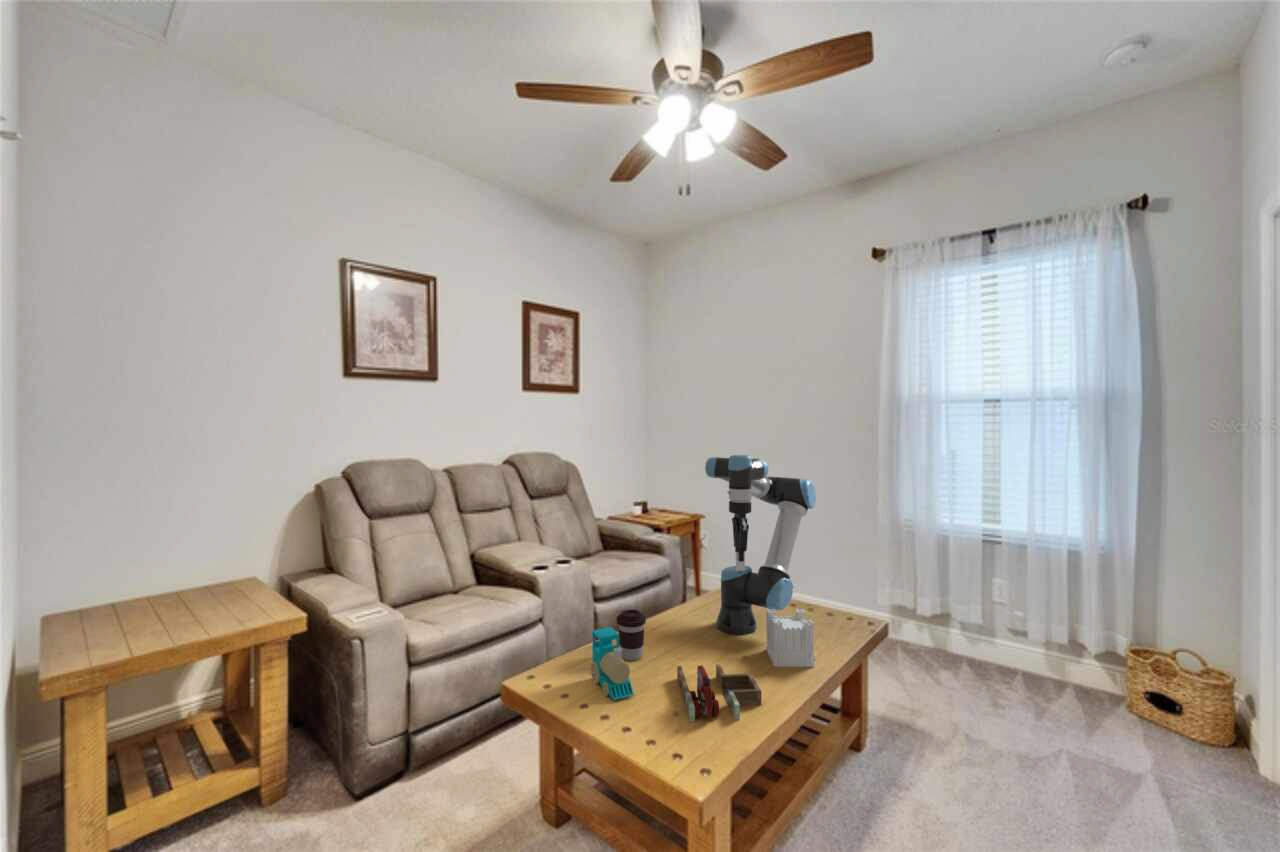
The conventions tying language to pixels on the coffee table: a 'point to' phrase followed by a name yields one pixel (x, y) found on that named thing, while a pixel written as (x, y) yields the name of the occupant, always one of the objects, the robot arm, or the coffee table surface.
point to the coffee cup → (631, 634)
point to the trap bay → (742, 689)
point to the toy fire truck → (704, 695)
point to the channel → (687, 697)
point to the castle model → (790, 640)
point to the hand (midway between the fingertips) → (740, 570)
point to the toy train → (610, 665)
